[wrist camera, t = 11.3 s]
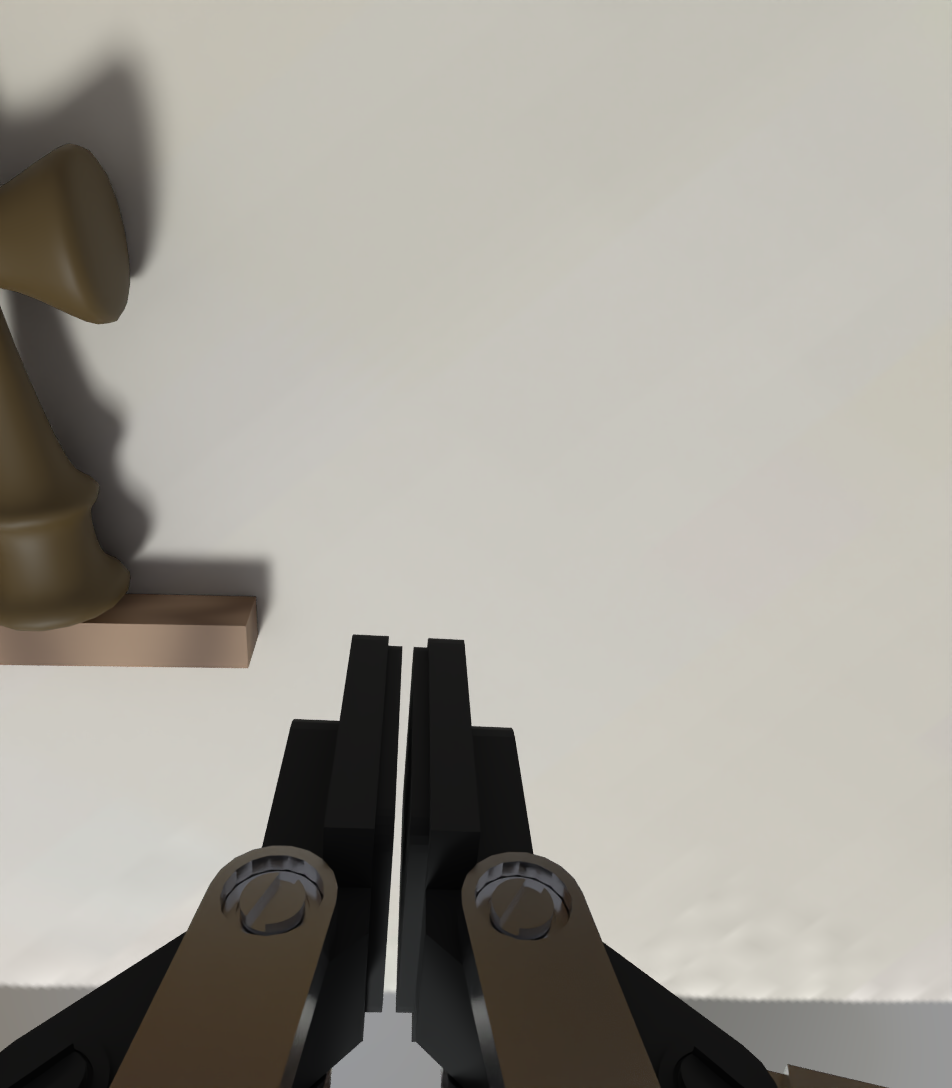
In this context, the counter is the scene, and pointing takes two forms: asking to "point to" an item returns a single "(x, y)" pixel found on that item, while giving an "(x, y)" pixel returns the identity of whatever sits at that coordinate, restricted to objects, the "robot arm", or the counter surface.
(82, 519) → the kendama
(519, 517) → the counter surface
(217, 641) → the walnut bay
